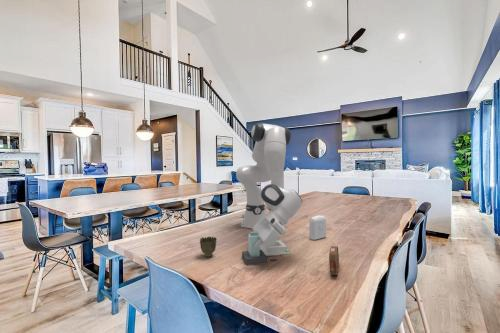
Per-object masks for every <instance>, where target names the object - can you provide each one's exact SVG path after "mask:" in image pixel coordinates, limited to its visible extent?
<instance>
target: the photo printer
mask: <svg viewBox="0 0 500 333" xmlns="http://www.w3.org/2000/svg"><path fill="white" fill-rule="evenodd" d="M308 236H309V240H312V241H315V240H320V239H325V238H326V237H327V218H326V216H324V215H320V214H318V215H315V216H312V217H310V219H309V234H308Z"/></svg>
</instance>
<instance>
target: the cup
mask: <svg viewBox="0 0 500 333" xmlns="http://www.w3.org/2000/svg"><path fill="white" fill-rule="evenodd" d="M217 240H218V238H217V237H216V236H215V237H214V236H207V237H206V236H205V237H200V238H199V243H200V250H201V252H202V253H203V256H204V257H205V258H211V257H212V256H213V253H214V252H215V251H216V248H217V247H216V246H217Z"/></svg>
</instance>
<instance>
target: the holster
mask: <svg viewBox="0 0 500 333" xmlns="http://www.w3.org/2000/svg"><path fill="white" fill-rule="evenodd" d="M241 258H242V260H243V261H244V264H245V266H253V265H262V264H268V256H266V255H265V254H264V252H263V251H262V250H261V249H260V256H255V257H250V256H249V255H248V250H243V251H242V252H241Z"/></svg>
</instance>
